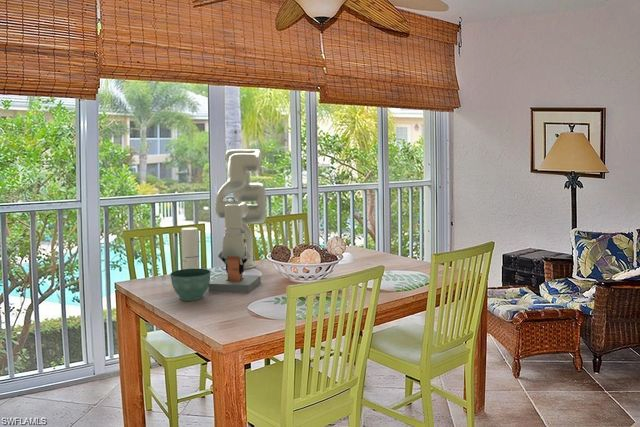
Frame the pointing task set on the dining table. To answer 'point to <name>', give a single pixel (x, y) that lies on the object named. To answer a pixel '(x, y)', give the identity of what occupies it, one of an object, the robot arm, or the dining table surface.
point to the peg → (233, 269)
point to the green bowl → (190, 283)
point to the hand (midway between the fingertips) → (234, 272)
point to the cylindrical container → (190, 248)
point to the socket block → (234, 284)
